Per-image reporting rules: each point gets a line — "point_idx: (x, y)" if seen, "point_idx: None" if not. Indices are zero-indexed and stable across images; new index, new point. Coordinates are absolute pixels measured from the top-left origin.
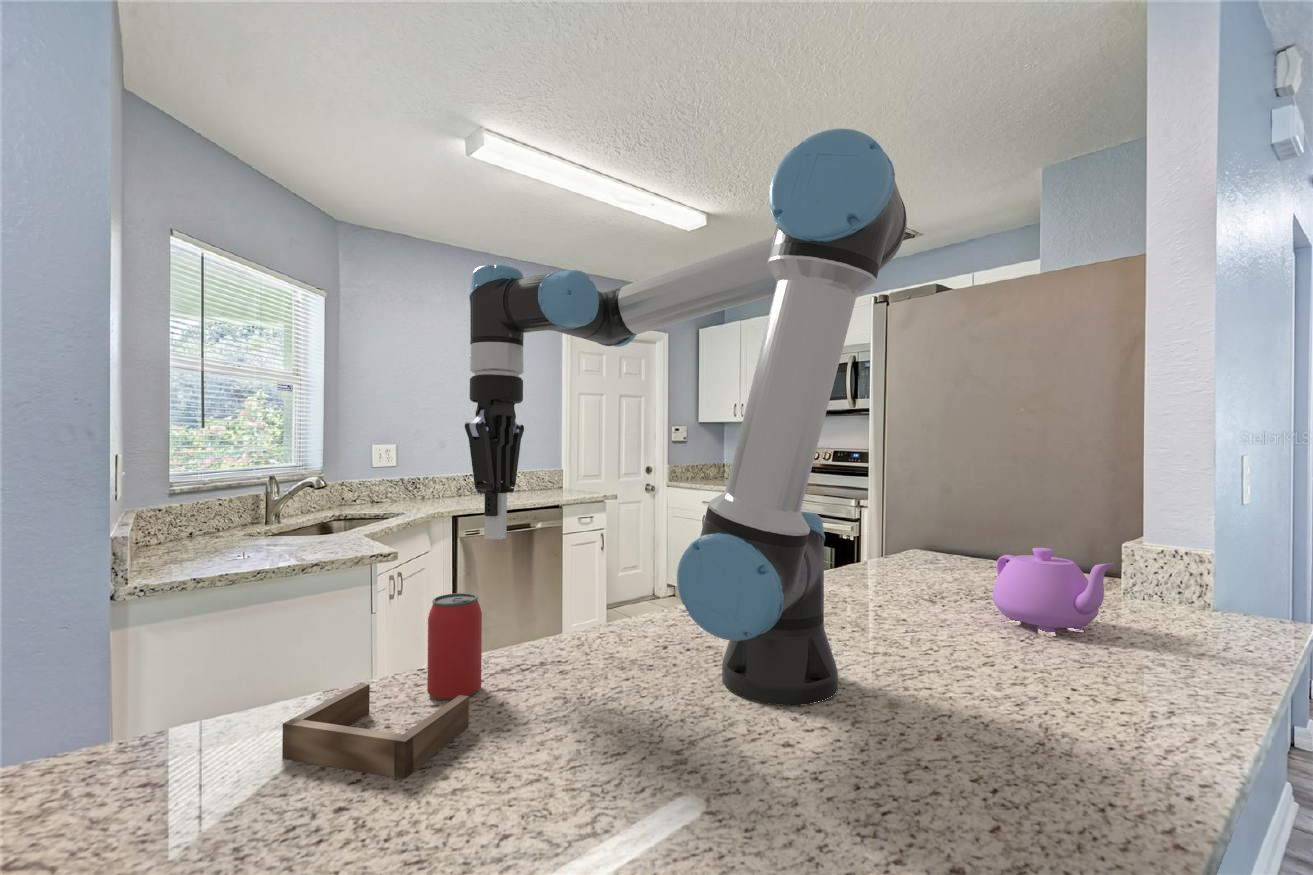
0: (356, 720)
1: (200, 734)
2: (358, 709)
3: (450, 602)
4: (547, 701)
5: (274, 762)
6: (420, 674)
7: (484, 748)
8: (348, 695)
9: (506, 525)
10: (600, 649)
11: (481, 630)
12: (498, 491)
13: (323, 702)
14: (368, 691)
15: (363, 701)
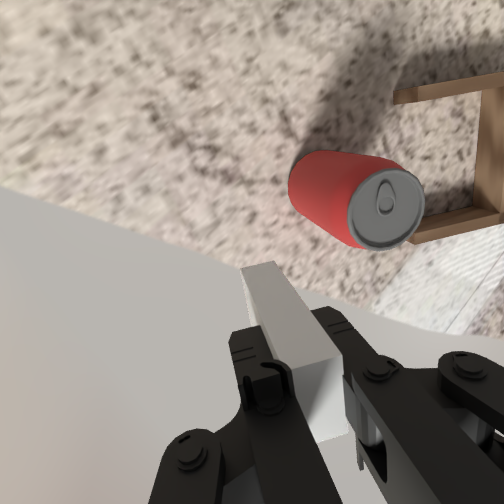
0: None
1: (458, 314)
2: None
3: (397, 209)
4: (298, 36)
5: None
6: (288, 267)
7: (429, 34)
8: (444, 226)
9: (248, 287)
10: (56, 77)
11: (339, 161)
12: (376, 361)
13: (464, 232)
14: None
15: None
